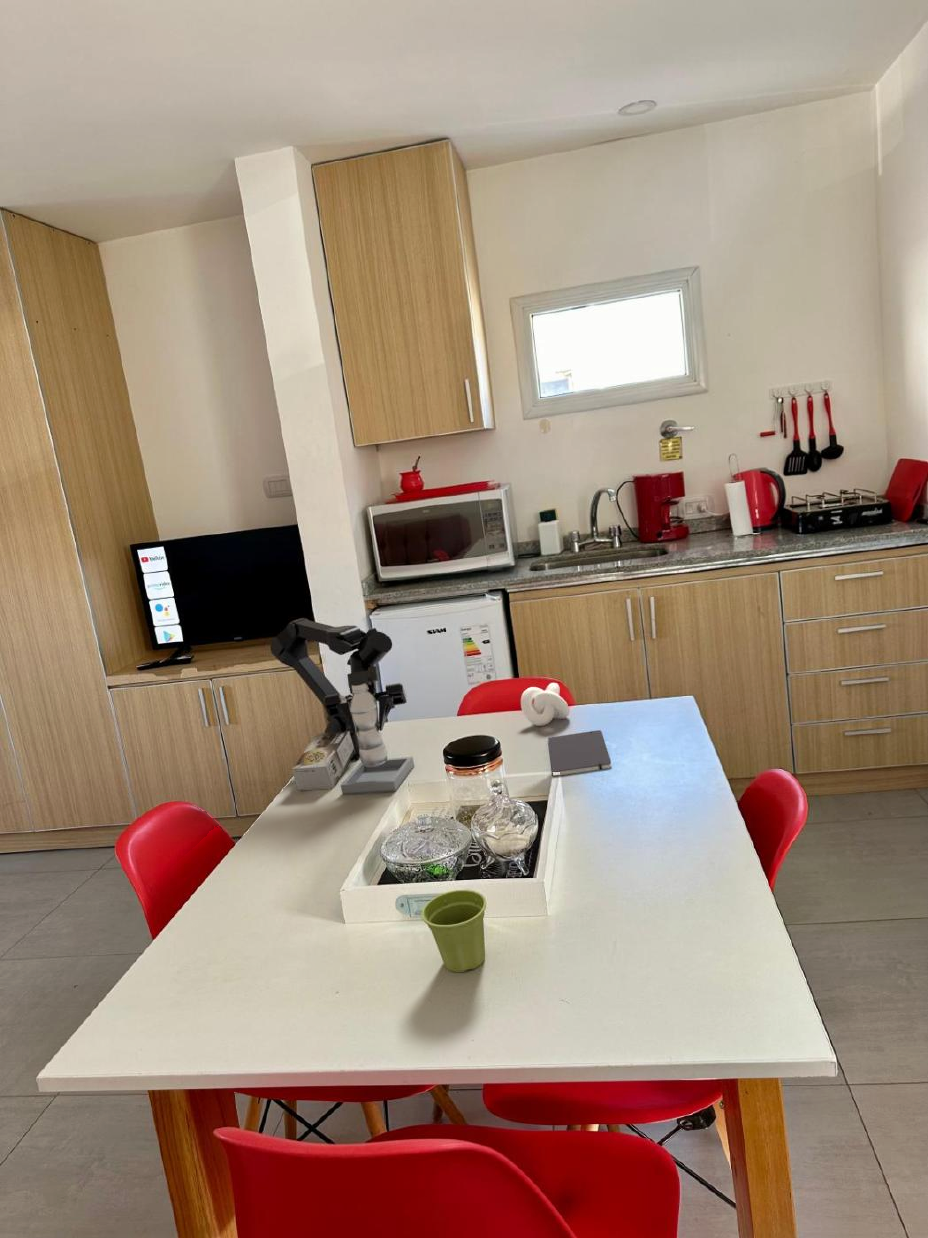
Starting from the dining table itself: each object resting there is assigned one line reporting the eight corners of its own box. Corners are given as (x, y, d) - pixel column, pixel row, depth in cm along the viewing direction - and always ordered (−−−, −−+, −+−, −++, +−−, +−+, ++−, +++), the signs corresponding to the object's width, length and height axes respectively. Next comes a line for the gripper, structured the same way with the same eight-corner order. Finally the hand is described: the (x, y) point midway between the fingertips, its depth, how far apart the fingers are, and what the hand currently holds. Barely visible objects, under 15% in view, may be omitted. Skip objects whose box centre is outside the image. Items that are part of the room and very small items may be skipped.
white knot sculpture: (582, 714, 220) (577, 681, 218) (554, 731, 211) (548, 697, 210) (547, 710, 228) (542, 678, 226) (519, 726, 219) (513, 693, 218)
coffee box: (333, 790, 200) (356, 752, 214) (325, 766, 198) (350, 730, 212) (298, 791, 203) (323, 754, 217) (290, 768, 201) (316, 732, 215)
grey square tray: (364, 770, 208) (362, 760, 208) (414, 766, 205) (412, 756, 204) (342, 795, 195) (340, 785, 195) (396, 791, 192) (393, 781, 191)
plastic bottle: (393, 758, 202) (377, 677, 197) (382, 770, 195) (365, 687, 191) (369, 759, 204) (352, 679, 199) (357, 771, 198) (339, 689, 193)
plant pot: (475, 986, 118) (464, 930, 117) (420, 974, 124) (408, 920, 122) (508, 947, 126) (497, 894, 124) (454, 937, 131) (444, 886, 129)
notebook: (548, 743, 205) (553, 778, 185) (547, 737, 205) (552, 772, 184) (601, 735, 204) (612, 770, 183) (600, 729, 204) (611, 763, 183)
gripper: (316, 663, 198) (319, 724, 190) (395, 649, 198) (402, 709, 189) (327, 686, 208) (330, 744, 199) (403, 673, 207) (410, 731, 199)
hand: (367, 732), depth 196 cm, fingers closed on plastic bottle, 6 cm apart
